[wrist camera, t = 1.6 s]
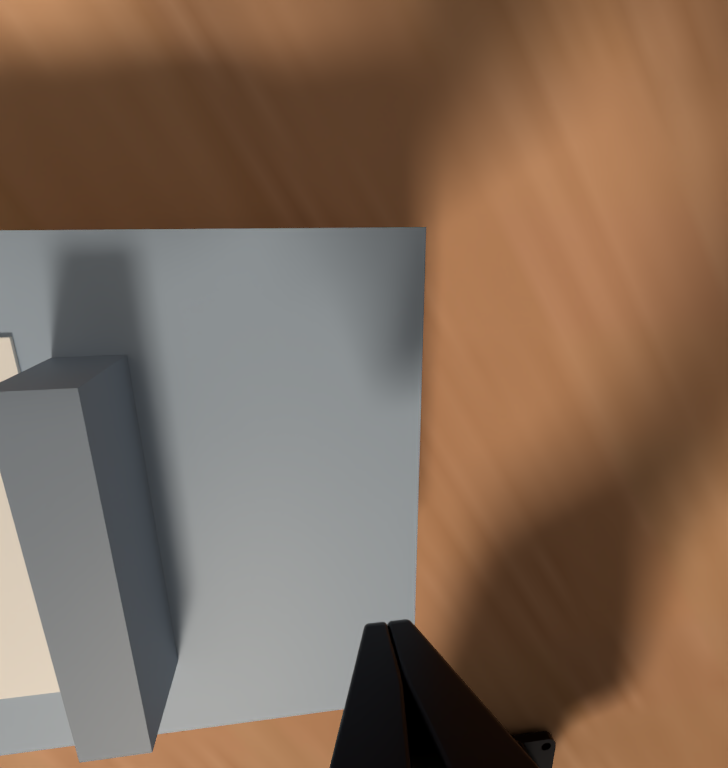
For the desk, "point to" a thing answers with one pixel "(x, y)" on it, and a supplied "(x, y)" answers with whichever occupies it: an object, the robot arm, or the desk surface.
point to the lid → (201, 474)
